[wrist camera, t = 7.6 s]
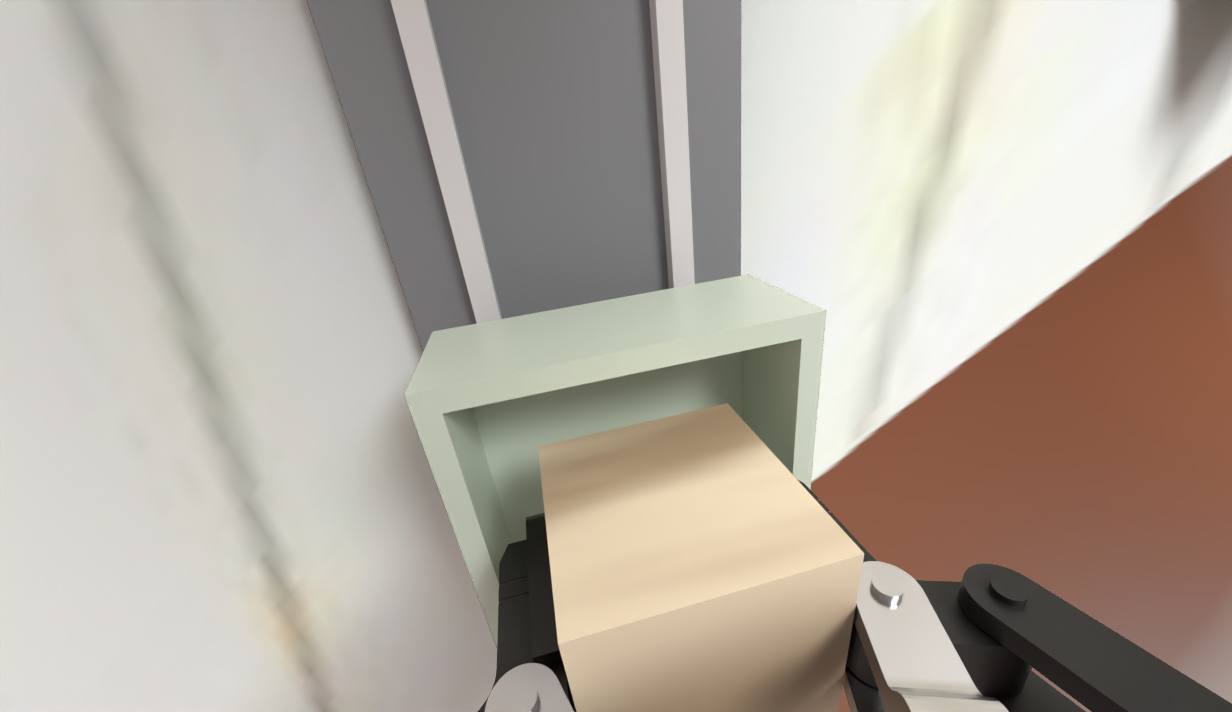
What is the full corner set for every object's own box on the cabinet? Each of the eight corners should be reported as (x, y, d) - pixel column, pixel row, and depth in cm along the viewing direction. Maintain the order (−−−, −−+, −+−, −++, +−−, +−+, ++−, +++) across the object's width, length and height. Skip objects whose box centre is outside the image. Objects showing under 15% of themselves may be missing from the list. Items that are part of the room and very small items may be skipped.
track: (263, -162, 11) (230, -205, 9) (728, -170, 12) (753, -208, 11) (483, 519, 20) (482, 543, 19) (732, 458, 22) (746, 476, 20)
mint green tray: (441, 310, 14) (403, 394, 9) (721, 261, 16) (826, 310, 10) (507, 529, 18) (507, 675, 13) (724, 475, 20) (801, 586, 15)
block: (538, 446, 11) (558, 643, 6) (727, 403, 12) (864, 553, 7) (570, 584, 13) (602, 807, 9) (729, 541, 14) (836, 724, 9)
